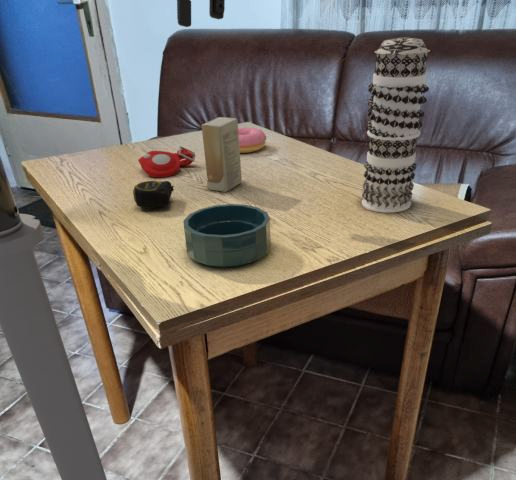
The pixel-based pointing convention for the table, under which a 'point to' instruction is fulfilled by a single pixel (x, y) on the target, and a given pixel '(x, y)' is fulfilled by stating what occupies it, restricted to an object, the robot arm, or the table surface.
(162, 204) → the tape measure
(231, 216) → the bowl
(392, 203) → the white patterned cylinder
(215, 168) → the cosmetic box
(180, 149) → the tracker holder
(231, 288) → the table surface
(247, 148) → the doughnut
